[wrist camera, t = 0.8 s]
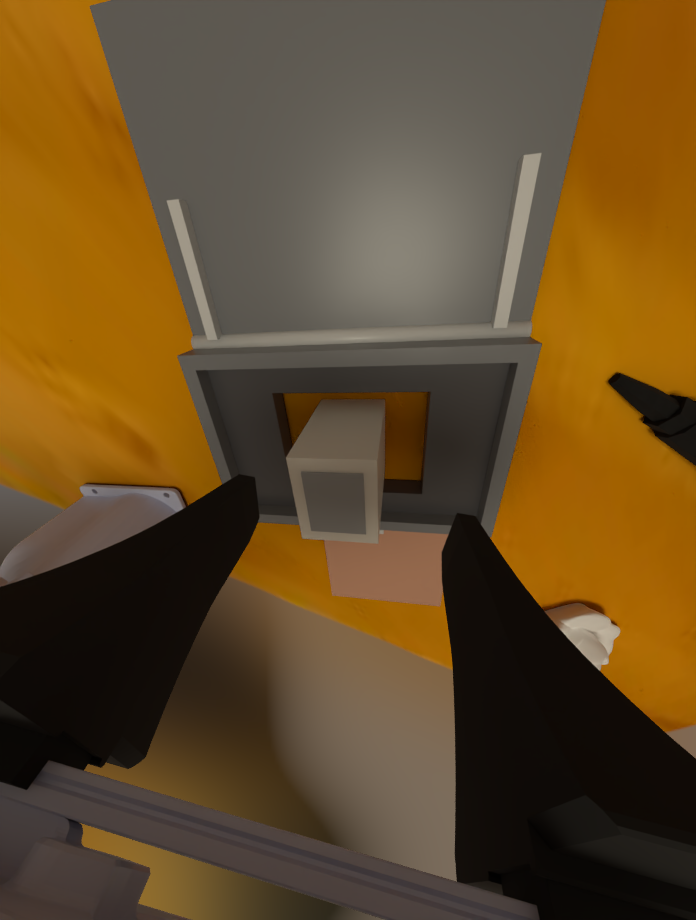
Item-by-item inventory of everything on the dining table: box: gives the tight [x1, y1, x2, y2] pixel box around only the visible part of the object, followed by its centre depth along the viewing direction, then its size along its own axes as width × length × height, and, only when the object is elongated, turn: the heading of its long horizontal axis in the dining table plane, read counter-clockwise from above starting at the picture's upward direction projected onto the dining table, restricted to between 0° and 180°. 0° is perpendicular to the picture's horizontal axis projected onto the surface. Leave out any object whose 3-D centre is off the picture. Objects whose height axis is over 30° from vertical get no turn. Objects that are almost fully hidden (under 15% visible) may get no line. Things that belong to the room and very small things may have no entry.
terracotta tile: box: [324, 530, 448, 606], centre depth 26 cm, size 10×10×1 cm
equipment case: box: [90, 0, 606, 537], centre depth 16 cm, size 18×25×2 cm
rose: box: [544, 603, 620, 671], centre depth 26 cm, size 10×4×10 cm
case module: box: [286, 399, 385, 544], centre depth 17 cm, size 4×5×7 cm
